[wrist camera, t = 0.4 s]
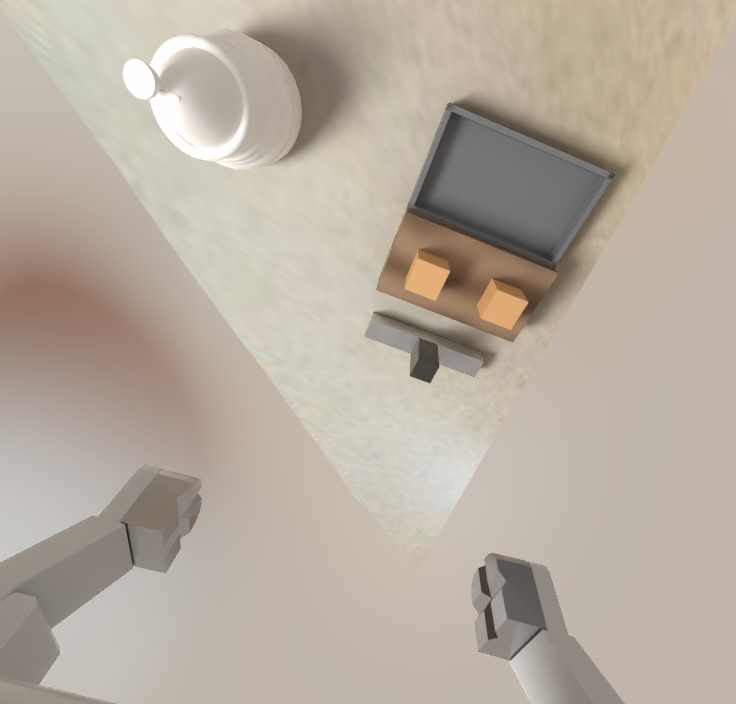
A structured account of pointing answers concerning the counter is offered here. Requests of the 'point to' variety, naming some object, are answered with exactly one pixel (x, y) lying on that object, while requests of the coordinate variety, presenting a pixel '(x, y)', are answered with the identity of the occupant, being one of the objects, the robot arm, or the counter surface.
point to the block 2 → (501, 304)
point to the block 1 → (427, 275)
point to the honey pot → (221, 97)
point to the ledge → (462, 272)
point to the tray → (506, 187)
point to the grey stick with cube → (424, 348)
